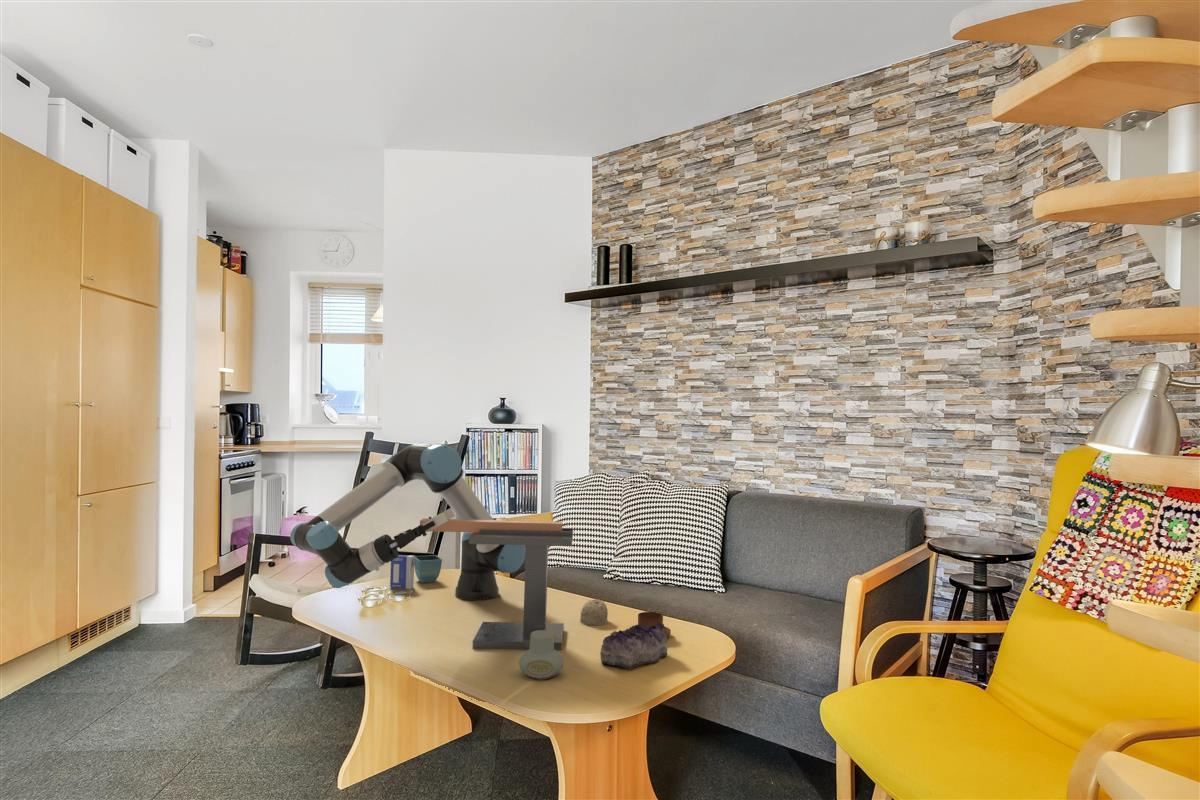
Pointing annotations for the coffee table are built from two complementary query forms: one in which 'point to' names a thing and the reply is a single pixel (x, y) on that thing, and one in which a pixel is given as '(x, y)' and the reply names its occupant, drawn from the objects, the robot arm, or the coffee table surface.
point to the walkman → (402, 572)
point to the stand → (534, 590)
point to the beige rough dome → (594, 613)
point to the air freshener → (541, 656)
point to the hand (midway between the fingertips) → (449, 514)
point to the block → (494, 525)
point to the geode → (634, 646)
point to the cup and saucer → (652, 620)
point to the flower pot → (427, 568)
